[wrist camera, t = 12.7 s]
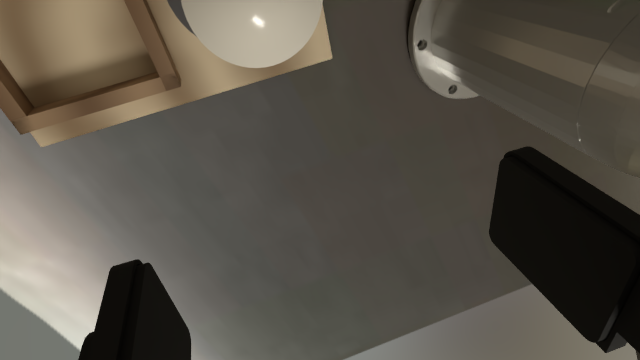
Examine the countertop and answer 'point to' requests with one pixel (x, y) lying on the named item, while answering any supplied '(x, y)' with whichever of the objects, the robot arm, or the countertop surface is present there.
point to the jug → (253, 28)
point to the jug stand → (113, 63)
